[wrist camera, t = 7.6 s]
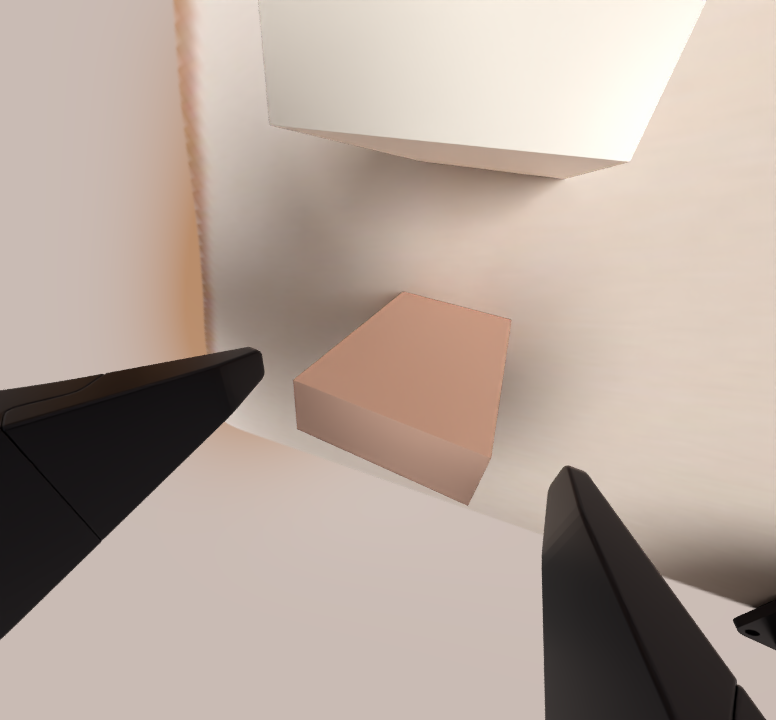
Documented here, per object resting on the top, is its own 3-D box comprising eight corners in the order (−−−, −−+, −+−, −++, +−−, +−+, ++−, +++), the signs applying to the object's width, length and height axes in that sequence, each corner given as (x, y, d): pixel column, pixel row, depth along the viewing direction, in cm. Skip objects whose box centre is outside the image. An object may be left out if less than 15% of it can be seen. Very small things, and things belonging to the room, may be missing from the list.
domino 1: (564, 178, 10) (629, 161, 3) (421, 161, 11) (269, 125, 5) (591, 107, 9) (764, -123, 2) (430, 98, 10) (252, -60, 4)
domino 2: (497, 355, 13) (468, 505, 7) (398, 325, 15) (297, 429, 8) (511, 319, 12) (490, 458, 6) (403, 291, 14) (293, 379, 7)
